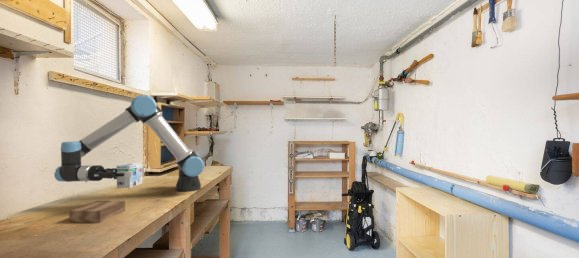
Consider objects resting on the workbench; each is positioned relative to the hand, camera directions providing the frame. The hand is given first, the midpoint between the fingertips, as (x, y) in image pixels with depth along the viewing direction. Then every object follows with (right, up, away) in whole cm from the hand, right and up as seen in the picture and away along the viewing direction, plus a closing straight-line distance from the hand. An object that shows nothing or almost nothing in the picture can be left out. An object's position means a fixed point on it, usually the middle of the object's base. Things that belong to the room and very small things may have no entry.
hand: (138, 172), depth 129 cm
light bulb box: (-4, -7, 0) cm, 8 cm away
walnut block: (-9, -17, -15) cm, 24 cm away
